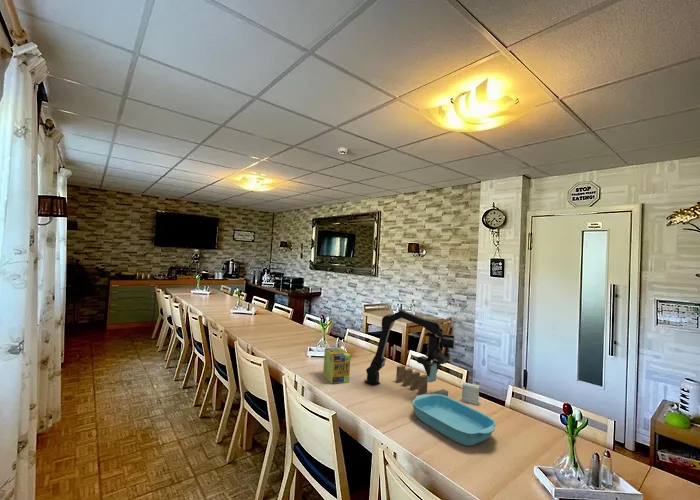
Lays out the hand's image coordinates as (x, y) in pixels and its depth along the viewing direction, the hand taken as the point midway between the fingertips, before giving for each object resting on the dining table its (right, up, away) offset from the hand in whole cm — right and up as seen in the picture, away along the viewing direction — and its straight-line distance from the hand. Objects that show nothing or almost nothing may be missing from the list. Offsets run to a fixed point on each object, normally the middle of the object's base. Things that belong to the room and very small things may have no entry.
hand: (431, 375), depth 166 cm
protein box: (-51, -8, +16) cm, 54 cm away
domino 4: (-4, -11, +4) cm, 12 cm away
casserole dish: (+1, -11, -29) cm, 31 cm away
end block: (+3, -11, -5) cm, 12 cm away
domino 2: (-10, -11, +13) cm, 20 cm away
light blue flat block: (0, -3, 0) cm, 3 cm away
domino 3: (-7, -11, +9) cm, 16 cm away
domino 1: (-14, -11, +17) cm, 25 cm away
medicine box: (+19, -13, -3) cm, 23 cm away
